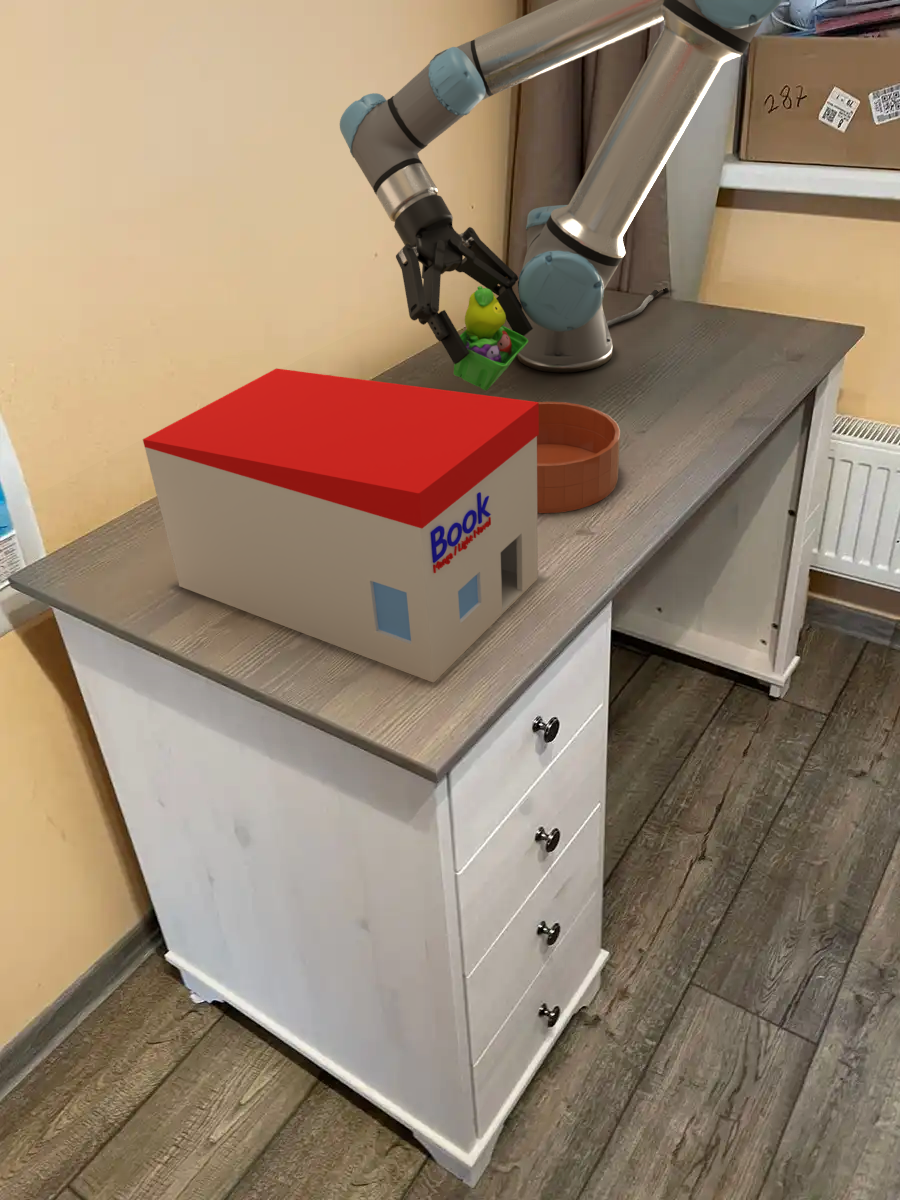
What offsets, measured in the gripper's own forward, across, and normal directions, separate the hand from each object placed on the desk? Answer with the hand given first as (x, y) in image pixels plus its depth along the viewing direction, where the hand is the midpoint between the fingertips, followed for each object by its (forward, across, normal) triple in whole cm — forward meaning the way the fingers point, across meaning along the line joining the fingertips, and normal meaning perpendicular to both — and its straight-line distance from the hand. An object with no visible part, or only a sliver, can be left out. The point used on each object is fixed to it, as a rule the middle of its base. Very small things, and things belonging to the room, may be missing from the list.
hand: (494, 346), depth 139 cm
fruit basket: (+1, +1, -5) cm, 5 cm away
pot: (+19, +8, +4) cm, 21 cm away
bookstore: (+20, +40, +1) cm, 44 cm away
